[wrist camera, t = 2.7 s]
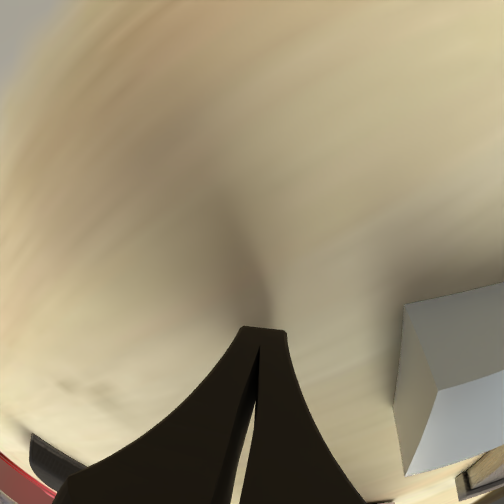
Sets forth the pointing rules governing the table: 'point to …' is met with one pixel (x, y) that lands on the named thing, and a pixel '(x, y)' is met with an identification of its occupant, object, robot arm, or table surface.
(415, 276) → the table surface
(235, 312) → the table surface
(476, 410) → the light grey rectangular block
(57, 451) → the external hard drive
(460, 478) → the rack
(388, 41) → the table surface
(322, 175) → the table surface
